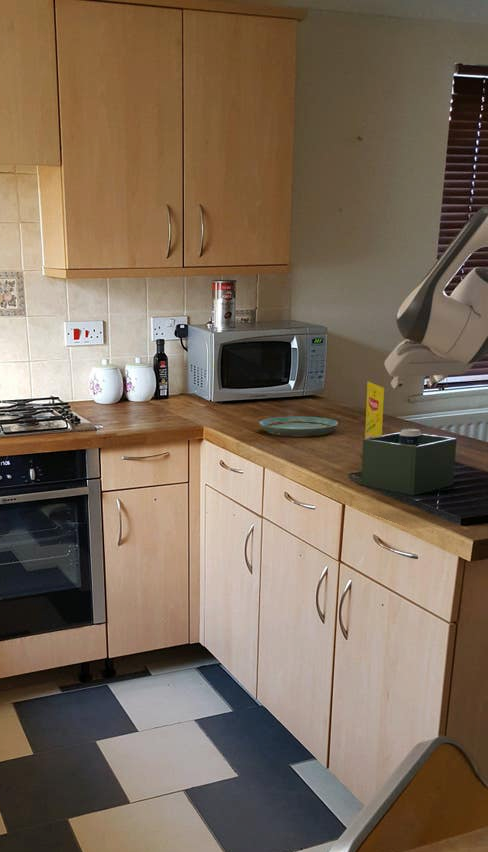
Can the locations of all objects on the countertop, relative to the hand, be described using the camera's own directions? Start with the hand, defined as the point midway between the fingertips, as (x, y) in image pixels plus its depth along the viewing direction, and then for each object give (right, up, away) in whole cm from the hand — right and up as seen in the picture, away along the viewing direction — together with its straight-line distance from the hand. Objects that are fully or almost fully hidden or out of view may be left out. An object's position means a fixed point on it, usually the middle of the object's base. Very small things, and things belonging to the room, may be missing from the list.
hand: (412, 385), depth 188 cm
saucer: (-11, +4, +86) cm, 87 cm away
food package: (0, -12, +38) cm, 40 cm away
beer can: (+2, -20, +12) cm, 23 cm away
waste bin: (+2, -20, +13) cm, 24 cm away
